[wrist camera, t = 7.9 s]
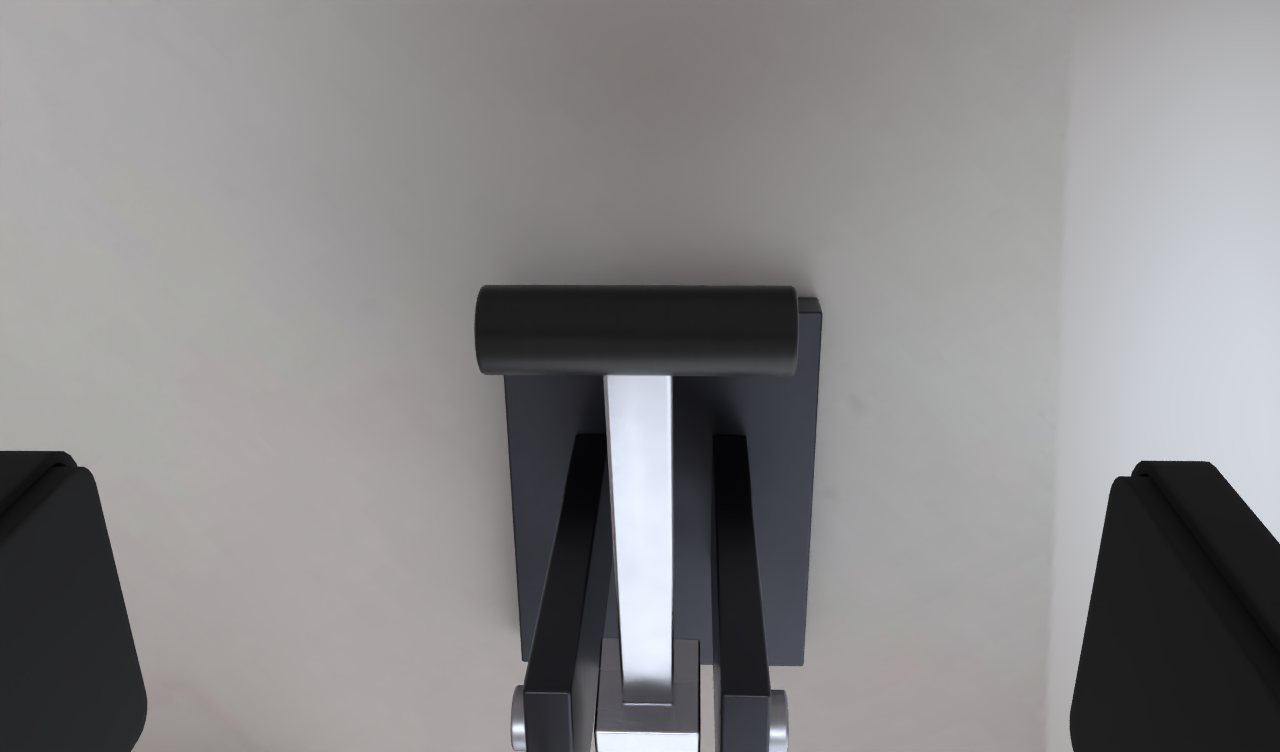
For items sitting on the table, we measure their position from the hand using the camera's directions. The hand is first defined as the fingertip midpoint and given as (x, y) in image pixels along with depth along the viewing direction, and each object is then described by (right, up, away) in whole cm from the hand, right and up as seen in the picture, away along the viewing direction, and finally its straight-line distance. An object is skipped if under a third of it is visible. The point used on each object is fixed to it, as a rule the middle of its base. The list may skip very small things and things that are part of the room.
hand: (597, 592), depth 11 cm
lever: (+1, -1, +12) cm, 13 cm away
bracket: (+1, -1, +25) cm, 25 cm away
